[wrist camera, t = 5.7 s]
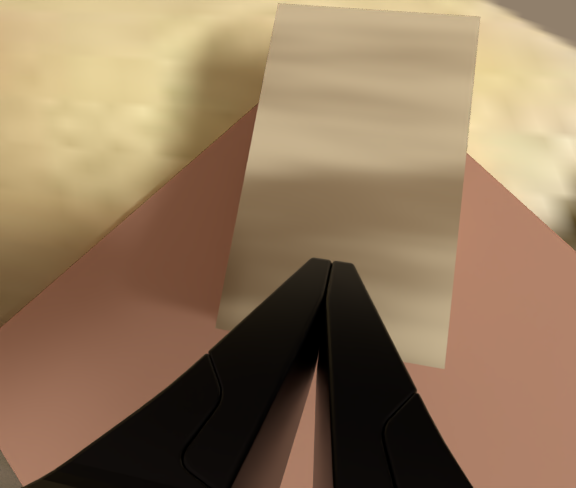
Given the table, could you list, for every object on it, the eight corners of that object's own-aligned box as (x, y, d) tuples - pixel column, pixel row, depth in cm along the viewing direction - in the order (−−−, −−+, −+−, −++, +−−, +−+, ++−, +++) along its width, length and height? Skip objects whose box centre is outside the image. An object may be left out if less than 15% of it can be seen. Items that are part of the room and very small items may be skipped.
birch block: (444, 369, 11) (480, 16, 12) (214, 328, 11) (277, 3, 13) (415, 357, 15) (445, 90, 16) (245, 327, 15) (291, 77, 17)
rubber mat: (252, 836, 13) (250, 852, 12) (-40, 369, 17) (-49, 370, 16) (717, 387, 14) (728, 389, 13) (336, 41, 18) (336, 35, 17)
